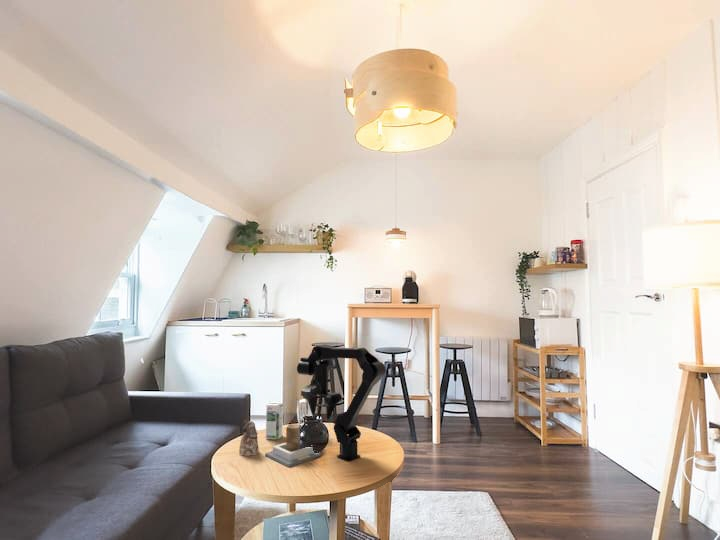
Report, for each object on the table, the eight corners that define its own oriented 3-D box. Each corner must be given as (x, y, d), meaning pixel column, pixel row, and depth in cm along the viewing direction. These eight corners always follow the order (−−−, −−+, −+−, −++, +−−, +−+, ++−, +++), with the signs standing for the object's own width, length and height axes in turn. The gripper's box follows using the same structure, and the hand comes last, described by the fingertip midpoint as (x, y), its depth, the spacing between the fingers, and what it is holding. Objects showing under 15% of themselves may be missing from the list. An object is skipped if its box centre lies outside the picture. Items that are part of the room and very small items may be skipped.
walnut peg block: (300, 451, 156) (300, 424, 157) (297, 455, 152) (298, 428, 153) (288, 450, 157) (289, 424, 157) (285, 455, 152) (286, 427, 153)
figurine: (247, 457, 152) (248, 424, 153) (235, 453, 156) (236, 421, 157) (262, 451, 158) (262, 420, 159) (249, 448, 162) (250, 417, 163)
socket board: (320, 455, 154) (321, 446, 155) (288, 467, 144) (288, 457, 144) (296, 446, 165) (297, 437, 165) (265, 456, 154) (265, 446, 154)
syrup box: (265, 439, 173) (265, 404, 174) (270, 434, 178) (271, 401, 180) (278, 440, 172) (278, 405, 173) (282, 435, 178) (283, 401, 179)
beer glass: (315, 433, 180) (315, 399, 181) (308, 438, 174) (308, 402, 175) (301, 432, 182) (301, 398, 184) (293, 436, 176) (294, 401, 177)
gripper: (290, 376, 163) (290, 416, 162) (320, 382, 150) (320, 426, 149) (312, 372, 171) (311, 410, 170) (342, 378, 158) (342, 419, 157)
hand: (320, 416), depth 161 cm, fingers open, 9 cm apart
